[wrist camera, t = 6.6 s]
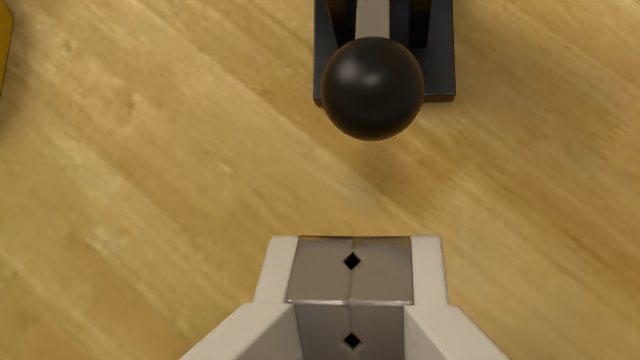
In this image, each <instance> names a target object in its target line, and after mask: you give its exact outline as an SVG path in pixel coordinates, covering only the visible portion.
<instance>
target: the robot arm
mask: <svg viewBox="0 0 640 360" xmlns="http://www.w3.org/2000/svg"><path fill="white" fill-rule="evenodd" d="M179 360H510V359H509V358H508V357H507V356H506V355H505V354H504V353H503V352H502V351H501V349H500V348H499V347H498V346H497V345H496V344H495V343H494V342H493V341H492V340H491V339H490V338H489V337H488V336H487V335H486V334H485V333H484V332H483V331H482V330H481V329H480V328H479V327H478V326H477V325H476V324H475V323H474V322H473V320H472V319H471V318H470V317H469V316H468V315H467V314H466V313H465V312H464V311H463V310H462V309H461V308H460V307H459V306H450V305H449V296H448V288H447V280H446V271H445V263H444V254H443V246H442V238H441V237H440V235H411V239H410V236H308V235H301V236H283V235H274V236H273V237H272V238H271V240H270V241H269V244H268V248H267V251H266V255H265V258H264V262H263V266H262V269H261V273H260V276H259V280H258V284H257V287H256V291H255V294H254V298H253V302H252V303H243V304H242V305H241V306H240V307H239V308H237V309H236V310H235V311H234V312H233V313H232V314H230V315H229V316H228V317H227V318H226V319H225V320H224V321H222V322H221V323H220V324H219V325H218V326H217V327H216V328H214V329H213V330H212V331H211V332H210V333H209V334H208V335H206V336H205V337H204V338H203V339H202V340H201V341H200V342H198V343H197V344H196V345H195V346H194V347H193V348H191V349H190V350H189V351H188V352H187V353H186V354H185V355H183V356H182V357H181V358H180V359H179Z"/></svg>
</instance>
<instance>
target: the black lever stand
mask: <svg viewBox="0 0 640 360" xmlns="http://www.w3.org/2000/svg"><path fill="white" fill-rule="evenodd" d="M356 13H357V0H314V74H313V100H314V102H315V104H316V106H323V104H322V99H321V80H322V75H323V72H324V69H325V67H326V65H327V63H328V62H329V60H330V59H331V57H332V56H333V55H334V53H335V52H336V51H337V50H339V49H340V48H341V47H342V46H344V45H345V44H347V43H348V42H350V41H353V40H355V33H356ZM390 39H391V40H394V41H396V42H398V43H400V44H401V45H403V46H404V47H405V48H406V49H407V50H409V51H410V52H411V53H412V55H413V56H414V57H415V59H416V60H417V62H418V64H419V66H420V68H421V71H422V74H423V78H424V97H423V102H439V101H453V100H454V98H455V94H456V87H455V58H454V29H453V1H452V0H390Z"/></svg>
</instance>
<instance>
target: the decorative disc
mask: <svg viewBox="0 0 640 360" xmlns="http://www.w3.org/2000/svg"><path fill="white" fill-rule="evenodd" d="M13 21H14V20H13V18H12V16H11V14H10V12H9V10H8V8H7V6H6V4H5V2H4V0H0V94H1V89H2V83H3V77H4V72H5V66H6V60H7V55H8V49H9V44H10V38H11V32H12V27H13Z"/></svg>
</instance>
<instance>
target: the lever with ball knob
mask: <svg viewBox="0 0 640 360" xmlns="http://www.w3.org/2000/svg"><path fill="white" fill-rule="evenodd" d="M423 97H424V78H423V74H422V71H421V68H420V66H419V64H418V62H417V60H416V59H415V57H414V56H413V55H412V53H411V52H410V51H409V50H407V49H406V48H405V47H404V46H403V45H401V44H400V43H398V42H396V41H394V40H391V39H390V0H357V13H356V33H355V40H353V41H350V42H348V43H347V44H345V45H344V46H342V47H341V48H340V49H339V50H337V51H336V52H335V53H334V55H333V56H332V57H331V59H330V60H329V62H328V63H327V65H326V67H325V69H324V72H323V75H322V80H321V99H322V104H323V107H324V109H325V112H326V114H327V115H328V117H329V119H330V120H331V121H332V123H333V124H334V125H335V126H336V127H337V128H338V129H339V130H341V131H342V132H343V133H345V134H347V135H349V136H351V137H353V138H356V139H359V140H364V141H379V140H384V139H388V138H390V137H393V136H395V135H397V134H398V133H400V132H402V131H403V130H404V129H405V128H407V127H408V126H409V125H410V124H411V122H412V121H413V120H414V119H415V117H416V115H417V114H418V112H419V110H420V107H421V105H422V102H423Z"/></svg>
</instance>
